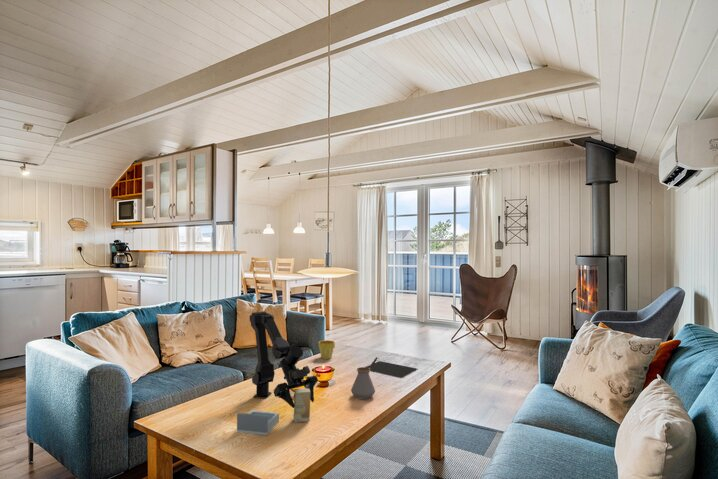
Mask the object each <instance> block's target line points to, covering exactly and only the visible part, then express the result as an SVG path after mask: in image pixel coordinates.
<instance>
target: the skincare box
mask: <svg viewBox="0 0 718 479" xmlns="http://www.w3.org/2000/svg"><path fill="white" fill-rule="evenodd" d="M293 402H294V405H295V407H294V408H293V421H294V423H295V424H296V423H307V422H310V415H311V400H310V389H309V388H307V389H306V388H294V399H293Z"/></svg>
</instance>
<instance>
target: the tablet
mask: <svg viewBox="0 0 718 479" xmlns="http://www.w3.org/2000/svg"><path fill="white" fill-rule="evenodd" d="M370 365H371V364H369V365H367V366H365V367H366V368H369V367H370ZM418 369H419V368H416V367H411V366H406V365H401V364H396V363H392V362H386V361H381V360H379V361H376V362H375V364H374V365H373V366H372V368H371V369H370V372H373V373H376V374H377V373H378V374H381V375H386V376H391V377H394V378H397V379H398V378H399V379H403V378H406V377H407V376H409V375H411V374H412V372H413V373H414V372H417V371H418ZM416 370H417V371H416Z"/></svg>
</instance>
